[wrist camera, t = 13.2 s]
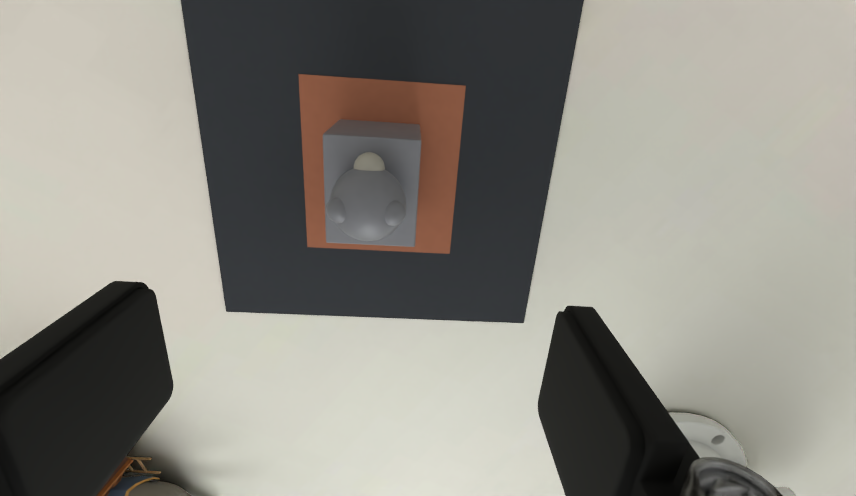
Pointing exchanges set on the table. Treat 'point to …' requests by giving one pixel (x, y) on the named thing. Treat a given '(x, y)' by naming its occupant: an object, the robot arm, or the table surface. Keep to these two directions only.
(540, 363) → the table surface
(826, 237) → the table surface
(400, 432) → the table surface
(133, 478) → the figurine
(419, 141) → the grey bear
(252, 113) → the mat
